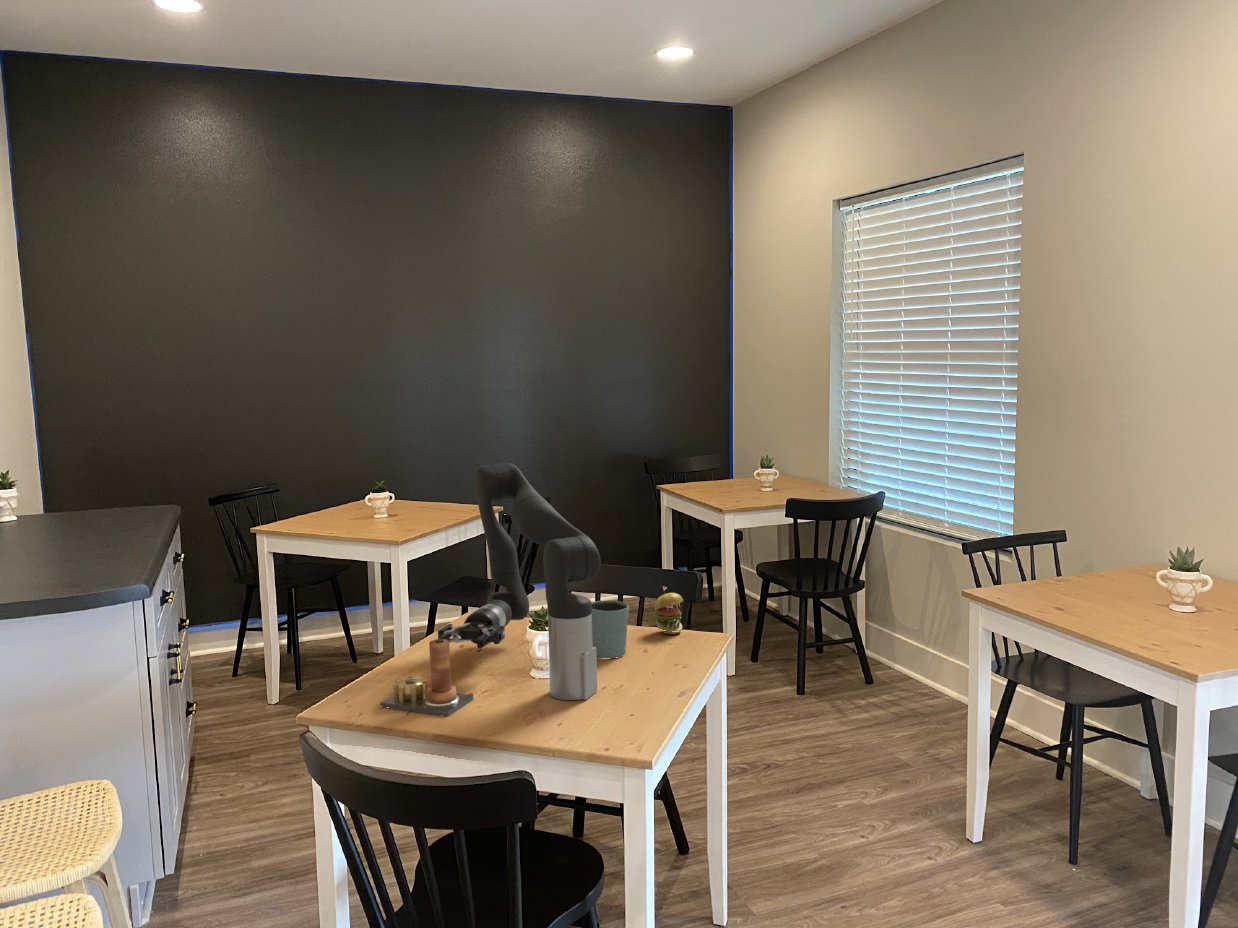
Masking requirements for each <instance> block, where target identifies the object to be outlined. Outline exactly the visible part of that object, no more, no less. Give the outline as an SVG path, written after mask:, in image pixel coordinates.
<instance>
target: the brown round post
mask: <svg viewBox="0 0 1238 928" xmlns="http://www.w3.org/2000/svg"><path fill="white" fill-rule="evenodd" d="M428 648H429V663H430V665H429V666H430V667H429V668H430V669H429V670H430V687H427V690H426V695H427V702H428V703H431V704H446V703H450V702H453V701H454V700H456V693H457V687H456V686H455V685H452V679H451V678H452V676H451V675H452V674H451V654H450V652H451V651H450V643H449V640H446V639H438V638H437V639H433V640H431V641H429V647H428Z"/></svg>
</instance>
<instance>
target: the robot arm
mask: <svg viewBox="0 0 1238 928" xmlns="http://www.w3.org/2000/svg"><path fill="white" fill-rule="evenodd" d="M473 483H474V491H475V497H476V502H477V505H478V510H479V514H480V518H481V522H482V523H481V524H482V528H483V532H484V536H485V540H486V546H487V550H488V551H487V552H488V560H489V569H490V579H491V582H492V583H494V584H495V585H498V586H500V587H501V586H502V587H505V588H507V590H508V591H497V592H492V593H491V594H489V595H488V598H487V599H486V604H484V605H483V606H481V607H479V608H478V609H476V610H474V611H473V612H472V613H471V614H469V615H467V617H466V619H465V620H464V622H463V624H461V625H457V626H453V623H452V624H451V623H448V624H446V625H445V626H443V627H442V628H440V629H438V630H437V639H446V640H449V644H450V643H456V644H459V643H463V642H471V643H473V644H475V645H476V648H477V649H478V650H482V648H484V647H486V646H489V645H491V643H493V644H494V645H499V644H500V643H501V642H503V640H504V639H505V638H506V628H505V627H506V626H507V625H509V623H510V622H511V621H521V620H525V618H526V617H528V615H529V613H530V612H529V611H530V602H529V597H528V595H527V593H526V590H525V586H524V585H523V582H522V578H521V575H520V568H519V561H518V560H519V559H518V558H519V557H518V551H517V547H516V544H515V542H514V541H513V539H512V538H511V536H510V534H508V532H507V531H506V530H505V528H504V527H503V526H502V524H501V523H500V521H499V520H498V518H497V517H496V516H497V515H496V513H495V510H494V503H498V502H499V503H500V502H504V501H512V500H513V501H512V504H511V507H510V512H509V513H510V520H511V522H512V524H513V526H514V527H515V528H516V530H518V531H519V533H520V534H521V535H522V536H523V537H525V538H526V539H527V540H528V541H530V542H532V543H535V544H537V545H540V546H543V547H544V550H543V557H542V558H543V559H542V560H543V561H542V563H543V575H544V584H545V585H544V586H545V588H544V589H545V598H546V599H545V600H546V604H547V621H548V623H547V625H548V626H547V627H548V658H549V659H548V660H549V661H548V663H549V664H548V666H549V669H548V670H549V692H550V693H549V694H550V696H551V697H552V698H554V699H556V700H557V699H558V700H562V701H579V700H585V701H587V700H588V699H589V698H590V697H591V696H592V695H594V694H595V693H596V692H597V691H598V667H597V666H598V665H597V662H598V661H597V655H596V647H593V641H592V600H591V599H590V598H588V597H586V596H584V595H580V594H575V593H572V592H570V590H569V584H568V583H574V582H579V581H586V580H588V579H592V578H593V577H595V576H597V574H598V573H599V571H600V569H601V564H602V562H601V561H602V559H601V555H600V552H599V550H598V548H597V546H596V543H595V542H594V541H593V540H592V539H591V538H590V537H589V536H588V535H586V534H585V533H583V532H582V531H581V530H580V529H578V528H576V527H575V526H574V525H572V524H571V523H570V522H568V520H567V519H565V518H564V516H563V515H561V514H560V513H559V512H558V511H557V510H556V509H555V508H554V507H553V506H552V505H551V504H550V503H549V502H548V501H547V500H546V499H545V498H544V497H543V496H542V495H540V494H539V492H538V491H536V489H535V488H534V487H533V486H532V485H531V484H530V483H529V481H528V480H527V479H526V476H525V475H524V474H523V472H522V471H521V470H520V468H518V467H517V465H515V464H514V463H511V462H502V463H496V464H495V463H494V464H489V465H482V466H479V467H477V468H476V469H475V471H474V476H473ZM459 637H460V638H459Z"/></svg>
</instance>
